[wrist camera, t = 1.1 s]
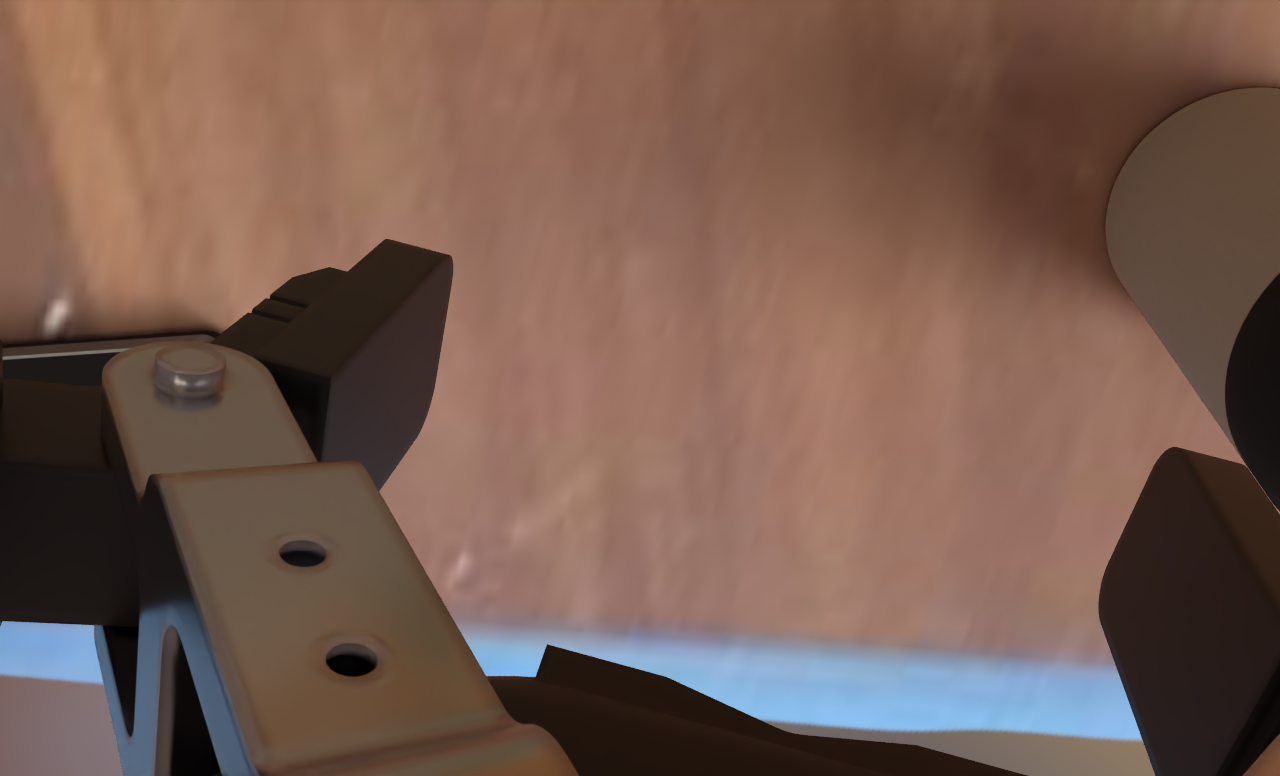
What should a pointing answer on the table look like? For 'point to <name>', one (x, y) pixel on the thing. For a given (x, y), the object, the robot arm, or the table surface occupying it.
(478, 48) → the table surface
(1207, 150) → the travel mug
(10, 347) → the external hard drive
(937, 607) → the table surface
